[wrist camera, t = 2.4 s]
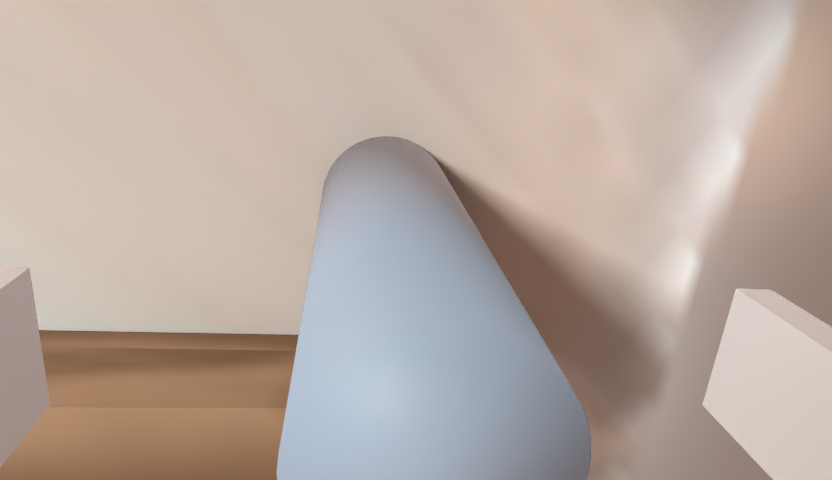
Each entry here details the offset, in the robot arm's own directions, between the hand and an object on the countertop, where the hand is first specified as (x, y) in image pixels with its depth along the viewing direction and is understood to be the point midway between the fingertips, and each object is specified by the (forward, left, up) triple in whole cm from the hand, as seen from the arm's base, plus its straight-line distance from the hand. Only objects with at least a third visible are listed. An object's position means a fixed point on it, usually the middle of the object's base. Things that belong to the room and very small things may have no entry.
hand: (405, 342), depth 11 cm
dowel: (0, 0, -8) cm, 8 cm away
